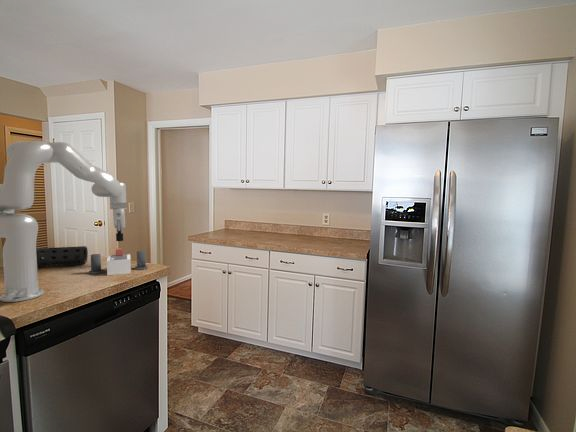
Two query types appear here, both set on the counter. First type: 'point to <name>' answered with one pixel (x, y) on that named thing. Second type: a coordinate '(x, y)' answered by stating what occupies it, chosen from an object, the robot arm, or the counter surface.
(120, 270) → the switch box
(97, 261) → the gray post with base
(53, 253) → the muzzle brake
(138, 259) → the spool right
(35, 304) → the counter surface
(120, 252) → the slider
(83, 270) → the counter surface
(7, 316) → the counter surface
